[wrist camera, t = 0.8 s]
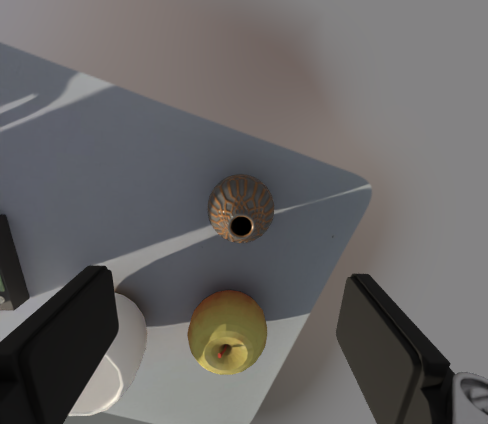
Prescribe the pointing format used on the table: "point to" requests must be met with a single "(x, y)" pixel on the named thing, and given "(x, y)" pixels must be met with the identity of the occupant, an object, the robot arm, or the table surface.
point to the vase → (240, 208)
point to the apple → (227, 332)
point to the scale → (10, 271)
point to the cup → (115, 362)
